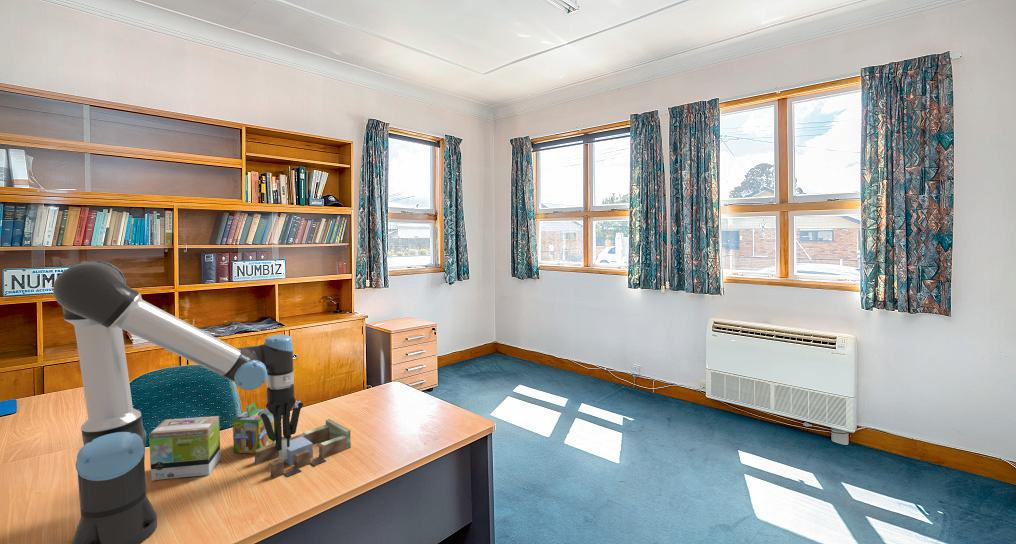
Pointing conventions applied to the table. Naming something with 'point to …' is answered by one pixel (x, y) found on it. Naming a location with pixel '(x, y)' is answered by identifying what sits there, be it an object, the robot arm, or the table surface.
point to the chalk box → (250, 430)
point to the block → (298, 449)
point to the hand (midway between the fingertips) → (283, 458)
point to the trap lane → (327, 448)
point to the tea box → (184, 447)
